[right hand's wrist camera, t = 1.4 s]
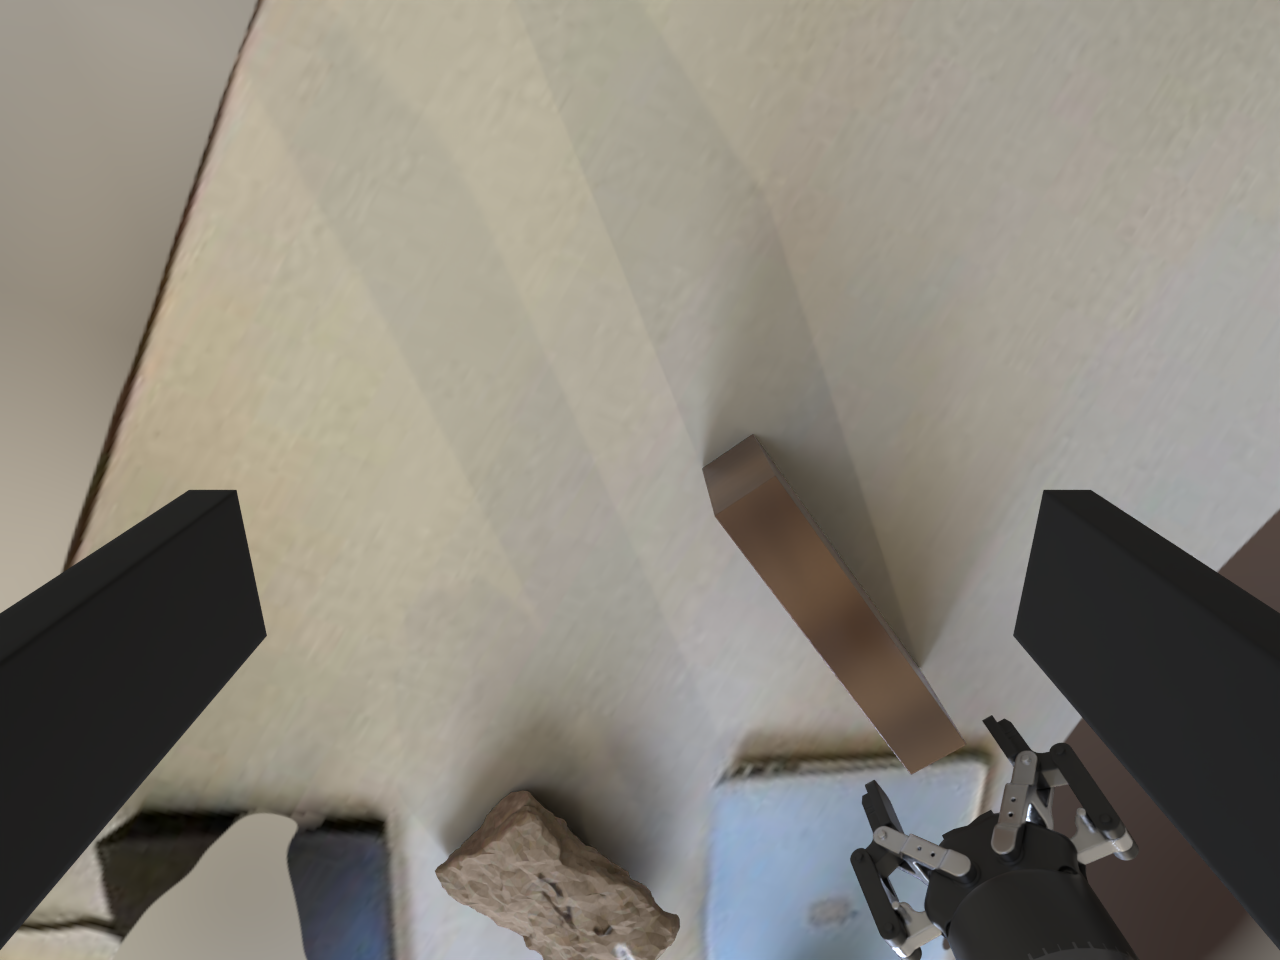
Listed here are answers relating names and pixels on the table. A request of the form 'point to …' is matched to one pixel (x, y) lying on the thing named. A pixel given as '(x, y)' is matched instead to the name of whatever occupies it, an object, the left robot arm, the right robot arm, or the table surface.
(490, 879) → the stone
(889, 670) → the bar
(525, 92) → the table surface
